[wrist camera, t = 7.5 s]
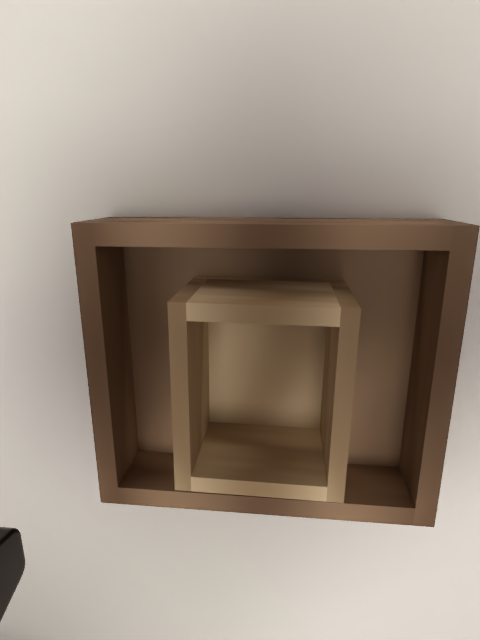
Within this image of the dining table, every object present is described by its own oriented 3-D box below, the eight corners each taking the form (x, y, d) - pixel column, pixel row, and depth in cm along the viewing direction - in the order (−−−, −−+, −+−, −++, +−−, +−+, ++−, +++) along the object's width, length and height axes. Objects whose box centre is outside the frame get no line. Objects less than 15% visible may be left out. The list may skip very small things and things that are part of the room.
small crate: (199, 426, 20) (174, 490, 16) (196, 275, 18) (167, 301, 14) (331, 434, 20) (343, 502, 15) (343, 280, 18) (361, 308, 13)
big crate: (129, 454, 22) (100, 502, 19) (109, 216, 19) (71, 222, 15) (410, 472, 21) (434, 526, 17) (442, 218, 17) (479, 226, 14)
